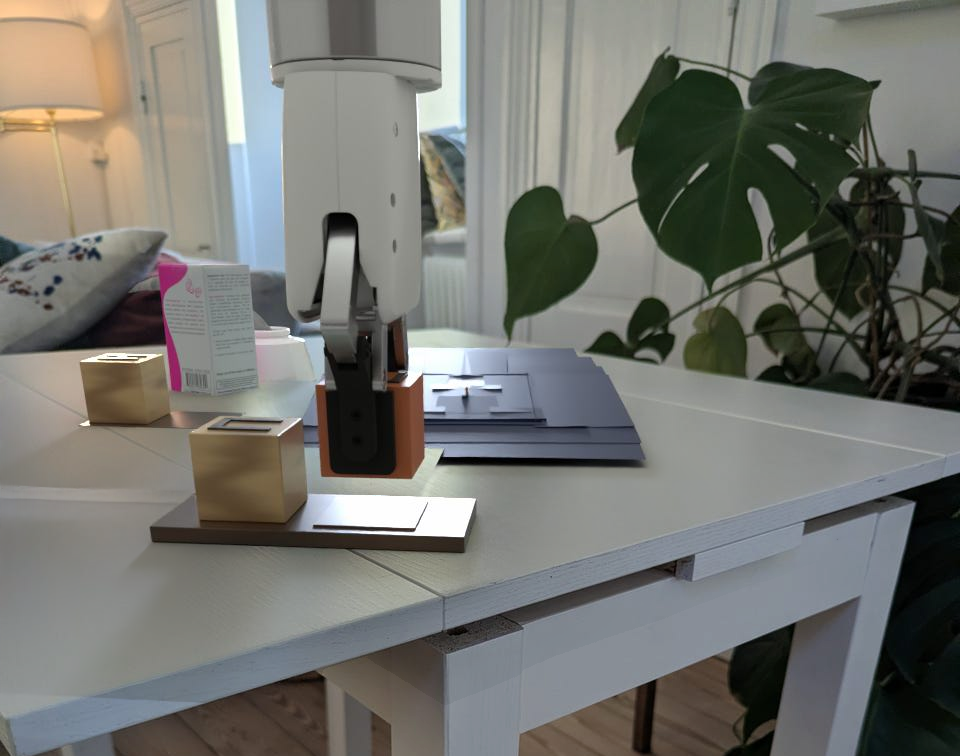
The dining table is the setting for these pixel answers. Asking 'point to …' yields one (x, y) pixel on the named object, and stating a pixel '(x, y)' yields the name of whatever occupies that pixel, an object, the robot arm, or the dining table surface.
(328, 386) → the robot arm
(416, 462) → the orange embossed-top cube
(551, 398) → the grey stepped plate
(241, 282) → the supplement box
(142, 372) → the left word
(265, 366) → the white piece
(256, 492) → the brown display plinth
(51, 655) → the dining table surface
